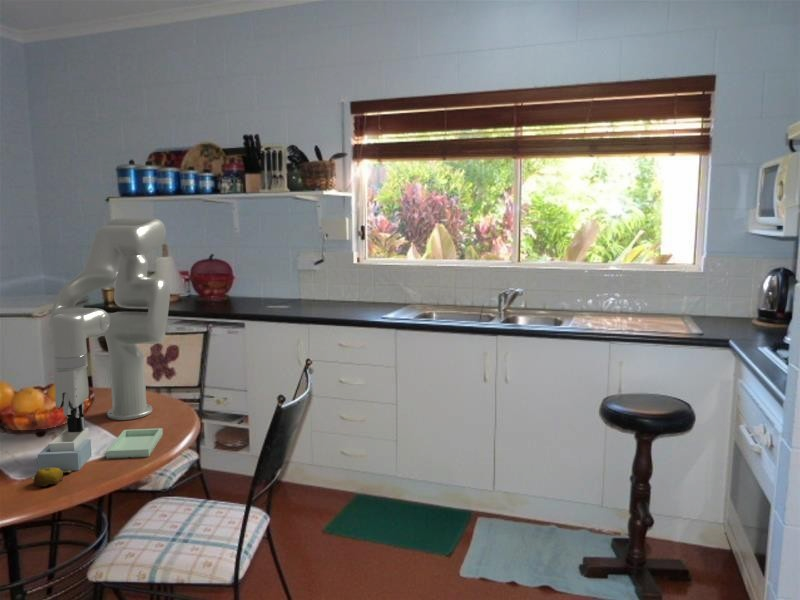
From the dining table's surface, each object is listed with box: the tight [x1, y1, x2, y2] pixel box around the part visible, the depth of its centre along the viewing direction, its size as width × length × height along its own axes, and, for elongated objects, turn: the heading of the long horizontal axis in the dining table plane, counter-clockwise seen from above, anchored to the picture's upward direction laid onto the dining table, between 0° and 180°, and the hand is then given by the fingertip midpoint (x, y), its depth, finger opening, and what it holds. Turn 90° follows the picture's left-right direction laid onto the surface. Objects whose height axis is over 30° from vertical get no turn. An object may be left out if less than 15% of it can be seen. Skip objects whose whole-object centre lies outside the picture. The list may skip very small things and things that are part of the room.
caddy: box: [48, 416, 90, 452], centre depth 153 cm, size 10×6×9 cm, turn 8°
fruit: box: [31, 467, 72, 489], centre depth 142 cm, size 8×8×4 cm
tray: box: [105, 427, 164, 460], centre depth 162 cm, size 15×10×2 cm
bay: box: [37, 438, 93, 472], centre depth 150 cm, size 9×9×4 cm
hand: (76, 430), depth 157 cm, fingers closed on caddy, 1 cm apart
